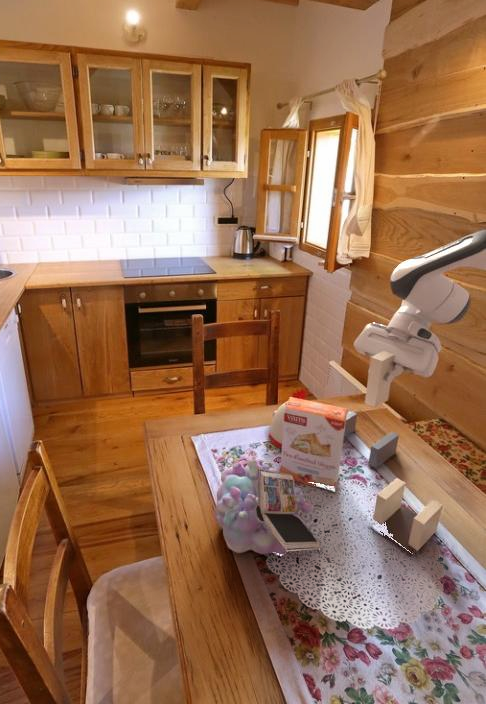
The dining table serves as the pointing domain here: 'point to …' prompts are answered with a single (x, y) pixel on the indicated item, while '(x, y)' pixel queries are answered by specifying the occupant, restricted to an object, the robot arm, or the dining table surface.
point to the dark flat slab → (401, 529)
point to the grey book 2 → (383, 449)
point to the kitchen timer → (281, 420)
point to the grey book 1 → (350, 423)
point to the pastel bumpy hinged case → (262, 510)
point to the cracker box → (312, 441)
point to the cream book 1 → (389, 501)
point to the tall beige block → (379, 379)
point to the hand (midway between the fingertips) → (378, 377)
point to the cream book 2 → (425, 524)
